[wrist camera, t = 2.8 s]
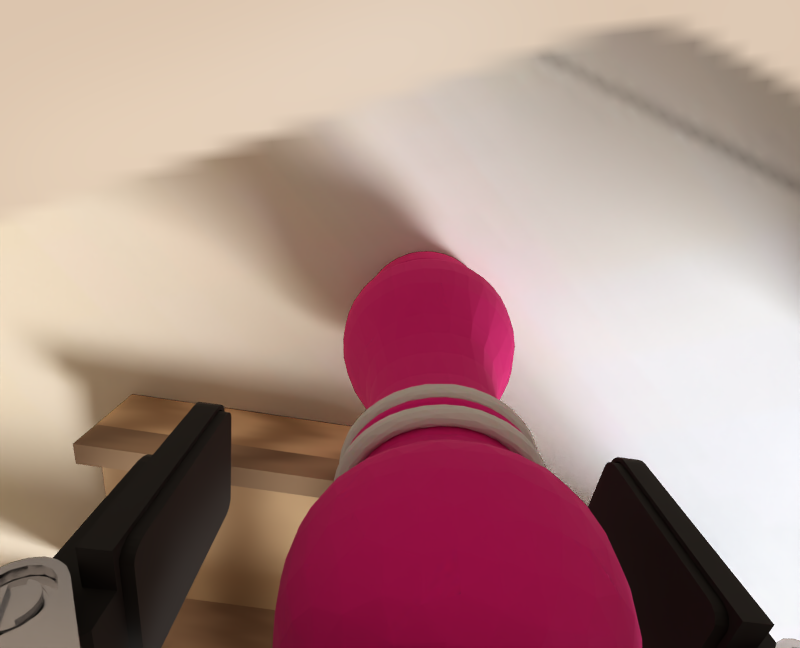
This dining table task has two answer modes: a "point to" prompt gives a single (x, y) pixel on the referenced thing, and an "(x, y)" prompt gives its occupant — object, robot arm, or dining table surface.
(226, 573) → the wall shelf
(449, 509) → the pepper mill
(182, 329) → the dining table surface
